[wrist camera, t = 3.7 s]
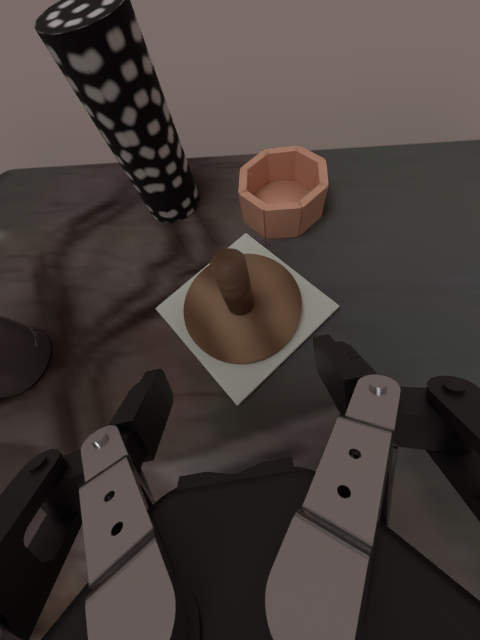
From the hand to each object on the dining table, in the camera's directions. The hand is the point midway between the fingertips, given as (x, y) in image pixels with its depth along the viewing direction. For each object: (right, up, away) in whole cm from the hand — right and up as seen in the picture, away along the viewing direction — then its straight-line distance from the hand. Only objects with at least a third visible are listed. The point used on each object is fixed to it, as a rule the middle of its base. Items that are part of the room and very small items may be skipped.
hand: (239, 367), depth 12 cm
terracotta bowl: (+6, +19, +22) cm, 30 cm away
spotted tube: (-10, +21, +26) cm, 35 cm away
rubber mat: (0, +4, +17) cm, 18 cm away
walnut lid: (0, +4, +17) cm, 17 cm away
